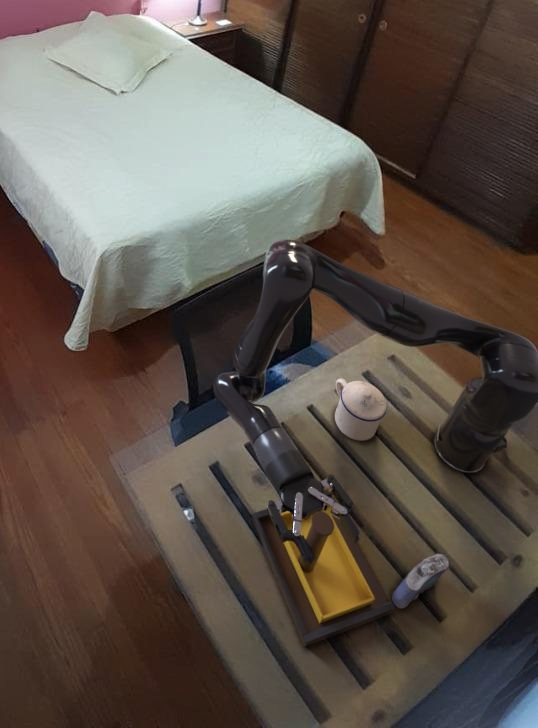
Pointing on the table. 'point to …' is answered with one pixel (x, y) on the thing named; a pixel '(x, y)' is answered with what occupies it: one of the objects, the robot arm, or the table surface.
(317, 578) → the tray
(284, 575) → the track
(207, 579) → the table surface
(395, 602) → the flask
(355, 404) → the teacup with lid
